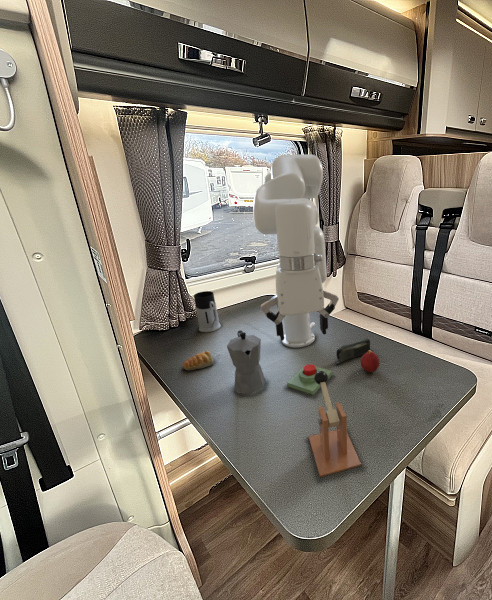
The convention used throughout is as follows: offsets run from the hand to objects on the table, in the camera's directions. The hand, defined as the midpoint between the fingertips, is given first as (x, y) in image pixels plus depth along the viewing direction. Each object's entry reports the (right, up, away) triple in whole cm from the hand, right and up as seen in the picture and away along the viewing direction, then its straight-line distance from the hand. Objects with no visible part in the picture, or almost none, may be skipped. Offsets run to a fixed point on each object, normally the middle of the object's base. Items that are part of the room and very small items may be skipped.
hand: (302, 334), depth 73 cm
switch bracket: (+7, -27, -2) cm, 28 cm away
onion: (+18, -15, +27) cm, 36 cm away
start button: (0, -14, +22) cm, 26 cm away
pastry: (-38, -14, +34) cm, 53 cm away
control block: (0, -17, +23) cm, 29 cm away
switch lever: (+5, -15, -1) cm, 16 cm away
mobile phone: (+13, -12, +36) cm, 40 cm away
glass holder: (-44, -4, +59) cm, 74 cm away
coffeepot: (-18, -18, +23) cm, 34 cm away
